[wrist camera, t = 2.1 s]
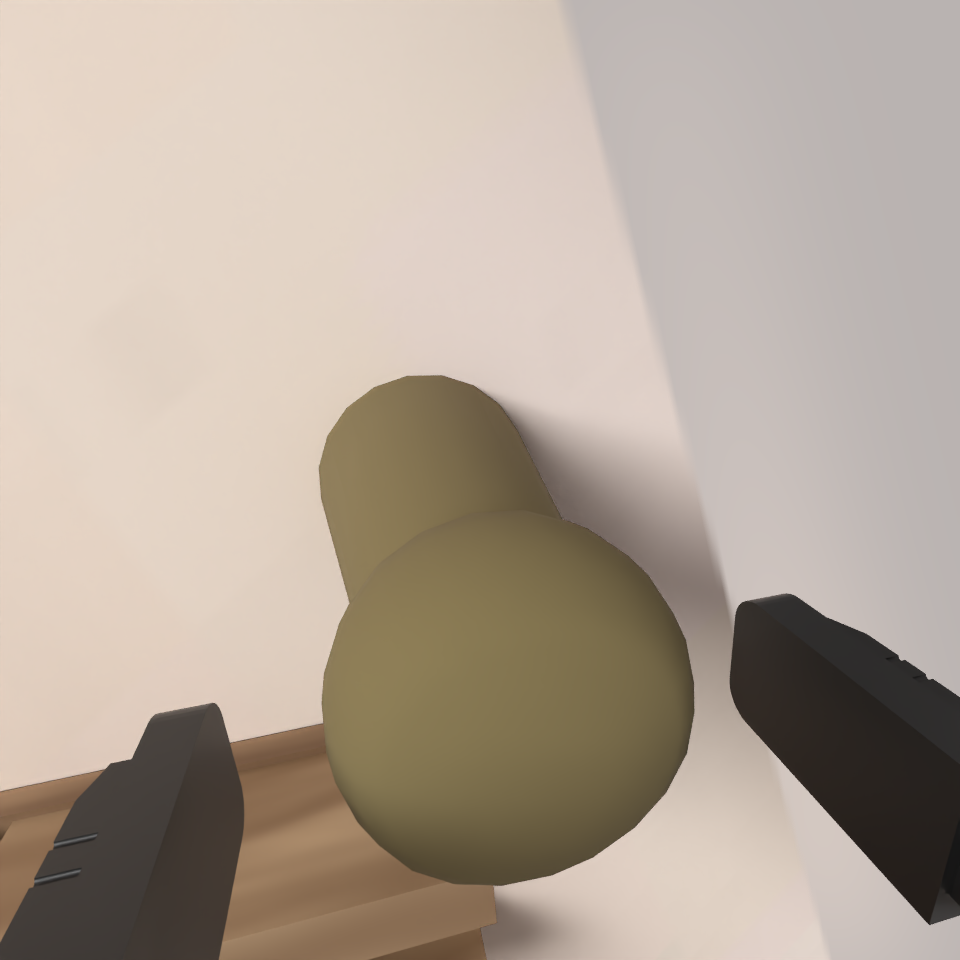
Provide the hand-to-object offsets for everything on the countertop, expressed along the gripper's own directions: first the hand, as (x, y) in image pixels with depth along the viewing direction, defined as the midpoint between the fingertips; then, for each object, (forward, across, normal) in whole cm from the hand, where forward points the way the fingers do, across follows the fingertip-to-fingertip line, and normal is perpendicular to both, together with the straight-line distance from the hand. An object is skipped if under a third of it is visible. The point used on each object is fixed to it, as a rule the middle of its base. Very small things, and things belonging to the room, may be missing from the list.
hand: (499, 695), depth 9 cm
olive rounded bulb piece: (+9, 0, -1) cm, 9 cm away
